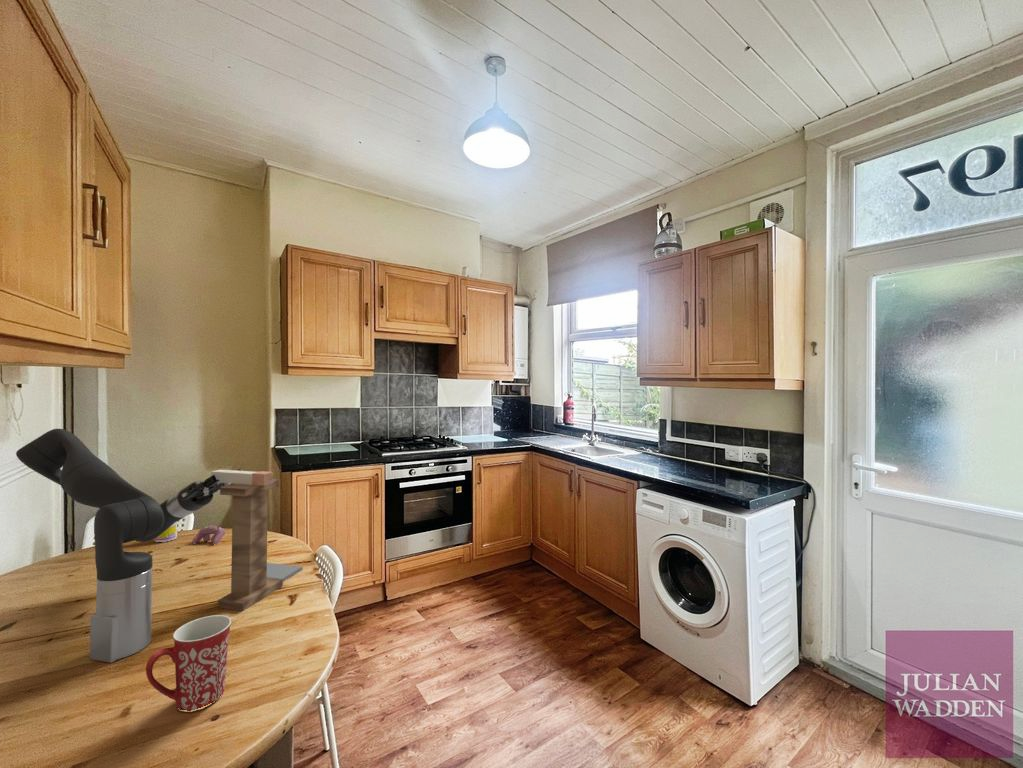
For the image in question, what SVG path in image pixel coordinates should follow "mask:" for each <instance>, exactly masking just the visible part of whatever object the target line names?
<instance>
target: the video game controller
mask: <svg viewBox="0 0 1023 768" xmlns="http://www.w3.org/2000/svg"><path fill="white" fill-rule="evenodd" d="M211 535H212V536H211ZM225 535H226V529H224V528H222V527H221V526H218V525H208V526H203V527H202V528H201V529H200V530H199V531H198V533H197V534H195V536H194V538H193V539H192V543H191V544H193V545H195V544H194V543H196V544H198V543H199V542H200V541H201V540H203V542H206V541H208V542H210V541H211V542H212V545H213V544H216V545H217V543H218V544H219V543H220V542H221V540H222V539H223V537H224V536H225ZM197 542H198V543H197Z"/></svg>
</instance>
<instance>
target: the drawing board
mask: <svg viewBox="0 0 1023 768" xmlns="http://www.w3.org/2000/svg"><path fill="white" fill-rule="evenodd" d="M303 569H304V567H303V566H300V565H292V564H284V563H274V562H267V578H275V579H283V582H285V581H286V580H288V579H289V578H292V577H293V576H294V575H296V574H298V573H300V572H302V571H303Z"/></svg>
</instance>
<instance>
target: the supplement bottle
mask: <svg viewBox="0 0 1023 768" xmlns="http://www.w3.org/2000/svg"><path fill="white" fill-rule="evenodd" d="M177 538H178V521H177V522H175V523H174V524H173V525H171V526H170V527H169V528H168V529H167V530H166V531H164V532H163V533H162V534H161V535H159V536H158V537H157V538H155V539H154V541H155V542H156V543H158V542H162V543H167V541H168V542H172V541H174V540H175V539H177ZM171 540H172V541H171Z"/></svg>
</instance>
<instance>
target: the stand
mask: <svg viewBox="0 0 1023 768" xmlns="http://www.w3.org/2000/svg"><path fill="white" fill-rule="evenodd" d="M279 483H280V479H277V478H273V483H272V484H268V485H265V486H262V485H248V484H231V485H227V486H223V487H220V491H219V495H222V496H232V511H231V513H232V516H231V518H232V519H231V520H232V521H231V571H230V572H231V573H230V574H231V576H230V577H231V578H230V579H231V580H230V583H231V584H230V586H231V587H230V593H228V594H226V595H224V596H223V597H221V598H219V599H218V600H217V608H218V609H219V608H220V609H226V610H227V609H228V610H235V611H240V610H241V612H244V611H245V610H247V609H248V608H251V607H252V606H254V605H255V604H257V603H258V602H260V601H262V600H263V599H265V598H266V597H268V596H270V595H271V594H273V593H274V592H275V591H277V590H279V589H281V588H282V587H283V585H284V581H283V579H275V578H267V563H268V518H269V517H268V516H269V515H268V514H269V511H268V510H269V509H268V507H269V500H268V499H269V496H268V495H269V490H270V489H274V488H277V487H279Z"/></svg>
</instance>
